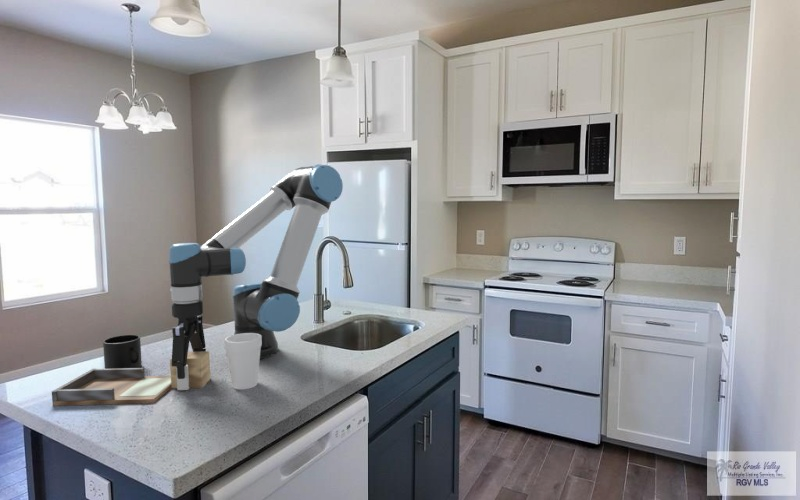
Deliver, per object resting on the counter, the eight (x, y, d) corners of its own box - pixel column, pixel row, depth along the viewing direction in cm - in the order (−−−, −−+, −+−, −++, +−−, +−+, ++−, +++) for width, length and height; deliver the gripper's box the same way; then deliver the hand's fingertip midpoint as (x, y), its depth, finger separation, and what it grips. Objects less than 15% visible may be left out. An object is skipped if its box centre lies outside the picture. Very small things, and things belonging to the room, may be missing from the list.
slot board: (181, 378, 128) (181, 366, 128) (153, 403, 112) (153, 389, 112) (93, 380, 127) (92, 368, 127) (52, 405, 111) (51, 391, 111)
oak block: (210, 379, 128) (209, 351, 127) (202, 387, 122) (200, 358, 121) (181, 379, 127) (179, 351, 127) (171, 388, 122) (169, 359, 121)
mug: (123, 377, 129) (121, 346, 129) (97, 371, 135) (95, 341, 134) (154, 367, 138) (152, 337, 137) (128, 361, 143) (127, 333, 142)
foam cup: (228, 394, 117) (226, 344, 116) (224, 382, 125) (222, 335, 124) (266, 387, 121) (264, 339, 120) (259, 376, 130) (258, 331, 128)
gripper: (189, 293, 133) (193, 368, 135) (152, 310, 112) (157, 399, 114) (215, 293, 134) (218, 368, 136) (184, 309, 112) (188, 398, 114)
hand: (190, 382), depth 125 cm, fingers open, 9 cm apart
